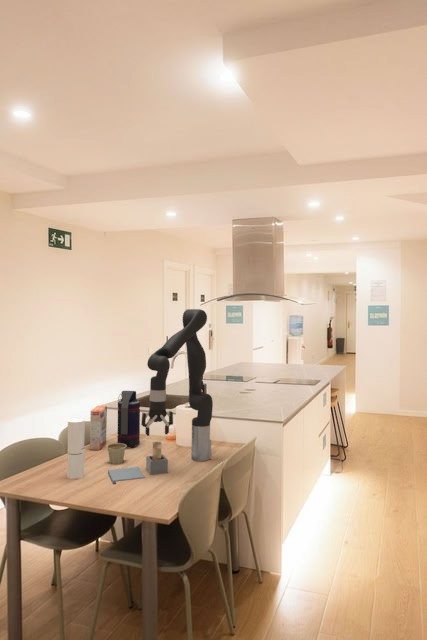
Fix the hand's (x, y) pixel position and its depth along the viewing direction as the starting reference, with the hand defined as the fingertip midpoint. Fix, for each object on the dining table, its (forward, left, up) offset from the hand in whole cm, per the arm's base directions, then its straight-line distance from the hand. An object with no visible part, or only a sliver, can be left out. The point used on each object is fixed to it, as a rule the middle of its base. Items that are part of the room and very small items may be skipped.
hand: (157, 434), depth 217 cm
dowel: (0, 0, -17) cm, 17 cm away
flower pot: (+15, -19, -18) cm, 30 cm away
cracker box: (+19, -50, -18) cm, 56 cm away
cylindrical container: (+35, -8, -18) cm, 40 cm away
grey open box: (0, 0, -18) cm, 18 cm away
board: (+14, 0, -18) cm, 23 cm away
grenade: (+4, -46, -18) cm, 49 cm away
